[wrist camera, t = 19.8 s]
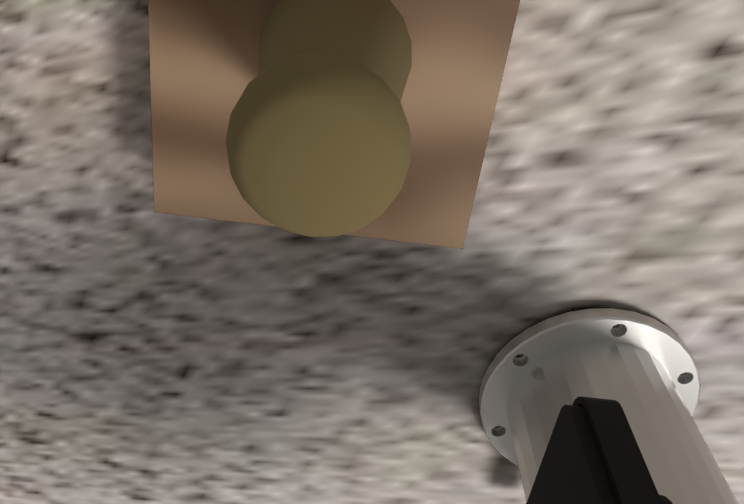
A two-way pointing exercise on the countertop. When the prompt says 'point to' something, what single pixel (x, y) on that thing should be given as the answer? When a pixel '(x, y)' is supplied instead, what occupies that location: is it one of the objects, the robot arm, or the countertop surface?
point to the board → (419, 101)
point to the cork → (324, 116)
